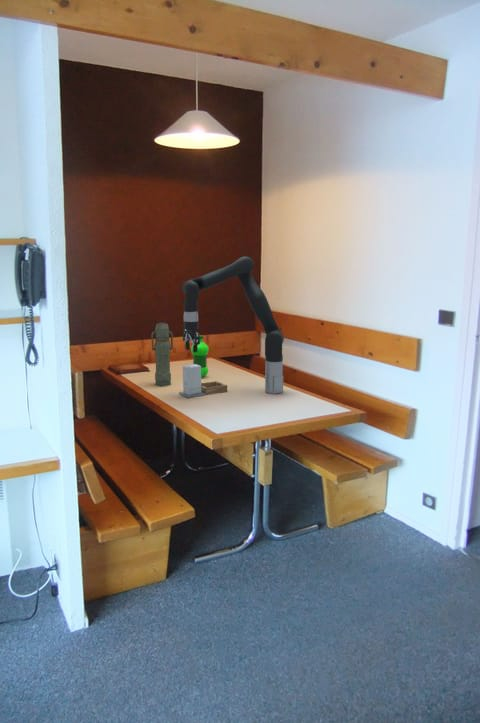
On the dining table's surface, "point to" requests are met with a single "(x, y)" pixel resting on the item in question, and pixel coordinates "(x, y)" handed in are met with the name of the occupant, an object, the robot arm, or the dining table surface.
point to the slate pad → (191, 395)
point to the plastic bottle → (201, 356)
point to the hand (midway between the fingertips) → (191, 351)
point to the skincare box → (191, 379)
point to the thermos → (162, 354)
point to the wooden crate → (213, 387)
